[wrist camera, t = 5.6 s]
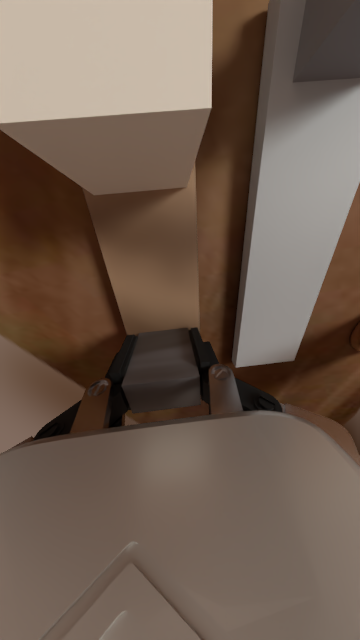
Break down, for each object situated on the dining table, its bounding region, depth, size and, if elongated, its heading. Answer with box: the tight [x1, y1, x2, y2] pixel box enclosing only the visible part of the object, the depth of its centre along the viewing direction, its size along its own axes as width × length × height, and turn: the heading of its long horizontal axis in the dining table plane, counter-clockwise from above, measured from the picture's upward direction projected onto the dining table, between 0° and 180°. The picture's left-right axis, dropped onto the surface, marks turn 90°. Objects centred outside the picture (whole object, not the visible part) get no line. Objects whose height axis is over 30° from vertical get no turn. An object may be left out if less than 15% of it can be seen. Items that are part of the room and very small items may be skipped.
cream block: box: [0, 0, 213, 195], centre depth 4 cm, size 5×5×5 cm
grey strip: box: [232, 0, 360, 368], centre depth 8 cm, size 20×6×6 cm, turn 5°
